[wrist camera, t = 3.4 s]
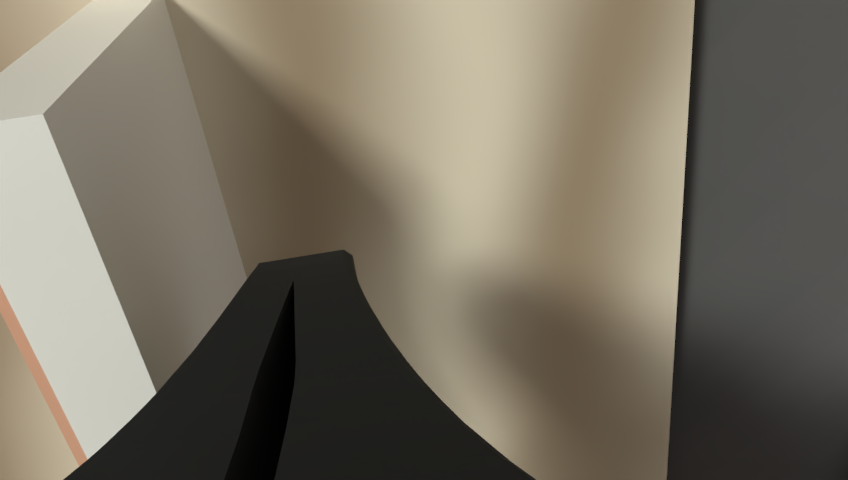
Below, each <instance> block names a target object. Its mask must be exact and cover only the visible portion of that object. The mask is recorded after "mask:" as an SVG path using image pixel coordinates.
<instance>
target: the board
mask: <svg viewBox="0 0 848 480" xmlns="http://www.w3.org/2000/svg"><path fill="white" fill-rule="evenodd" d="M91 1H96V0H0V72H2V71H3V70H4V69H6V68H7V67H8V66H9V65H11V64H12V63H13V62H14V61H16V60H17V59H18V58H20V57H21V56H22V55H23V54H25V53H26V52H27V51H29V50H30V49H31V48H32V47H34V46H35V45H36V44H38V43H39V42H40V41H41V40H43V39H44V38H45V37H46V36H48V35H49V34H50V33H52V32H53V31H54V30H55V29H57V28H58V27H59V26H61V25H62V24H63V23H64V22H66V21H67V20H68V19H69V18H71V17H72V16H73V15H75V14H76V13H77V12H78V11H80V10H81V9H82V8H84V7H85V6H86V5H87V4H89V3H90V2H91ZM165 3H166V6H167V10H168V13H169V16H170V20H171V23H172V27H173V30H174V33H175V37H176V40H177V44H178V47H179V50H180V54H181V57H182V60H183V64H184V67H185V71H186V74H187V77H188V81H189V84H190V88H191V91H192V94H193V98H194V101H195V105H196V108H197V111H198V115H199V118H200V121H201V125H202V128H203V132H204V135H205V138H206V142H207V145H208V149H209V152H210V155H211V159H212V162H213V165H214V169H215V172H216V176H217V179H218V182H219V186H220V189H221V193H222V196H223V199H224V203H225V206H226V210H227V213H228V216H229V220H230V223H231V226H232V230H233V233H234V237H235V240H236V243H237V247H238V250H239V254H240V257H241V260H242V264H243V267H244V271H245V274H246V277H247V278H248V277H249V276H250V274H251V273H252V272H253V271H254V269H255V268H256V267H257V265H258V264H259V263H263V262H269V261H275V260H281V259H288V258H294V257H300V256H306V255H313V254H319V253H325V252H331V251H338V250H345V251H347V252H348V253H350V254H351V255H353V259H354V264H355V269H356V274H357V279H358V282H359V284H360V287H361V289H362V291H363V293H364V295H365V297H366V299H367V301H368V303H369V305H370V307H371V308H372V310H373V312H374V313H375V315H376V317H377V318H378V320H379V321H380V323H381V325H382V326H383V328H384V330H385V331H386V333H387V334H388V336H389V337H390V338H391V340H392V341H393V343H394V344H395V345H396V347H397V348H398V349H399V351H400V352H401V353H402V355H403V356H404V358H405V359H406V360H407V361H408V363H409V364H410V365H411V366H412V368H413V369H414V370H415V371H416V373H417V374H418V375H419V376H420V377H421V378H422V380H423V381H424V382H425V383H426V384H427V385H428V386H429V387H430V388H431V389H432V391H433V392H434V393H435V394H436V395H437V396H438V397H439V398H440V399H441V400H442V401H443V402H444V403H445V404H446V405H447V406H448V407H449V408H450V409H451V410H452V411H453V412H454V413H455V414H456V415H457V416H458V417H459V418H460V419H461V420H462V421H463V422H464V423H465V424H467V425H468V426H469V427H470V428H471V429H473V430H474V431H475V432H476V433H477V434H479V435H480V436H481V437H482V438H483V439H485V440H486V441H487V442H488V443H489V444H491V445H492V446H493V447H494V448H495V449H497V450H498V451H499V452H500V453H501V454H503V455H504V456H505V457H506V458H507V459H509V460H510V461H511V462H512V463H514V464H515V465H517V466H518V467H519V468H521V469H522V470H523V471H525V472H526V473H528V474H529V475H530V476H532V477H533V478H535V479H536V480H667V465H668V448H669V431H670V414H671V397H672V380H673V363H674V346H675V329H676V312H677V295H678V279H679V262H680V245H681V228H682V211H683V194H684V177H685V160H686V143H687V126H688V109H689V92H690V75H691V58H692V41H693V24H694V7H695V0H165ZM78 467H79V465H78V463H77V461H76V459H75V457H74V455H73V453H72V451H71V449H70V448H69V446H68V444H67V442H66V440H65V438H64V436H63V434H62V432H61V430H60V428H59V426H58V424H57V422H56V420H55V418H54V416H53V414H52V412H51V410H50V408H49V406H48V405H47V403H46V401H45V399H44V397H43V395H42V393H41V391H40V389H39V387H38V385H37V383H36V381H35V379H34V377H33V375H32V373H31V371H30V369H29V367H28V365H27V363H26V362H25V360H24V358H23V356H22V354H21V352H20V350H19V348H18V346H17V344H16V342H15V340H14V338H13V336H12V334H11V332H10V330H9V328H8V326H7V324H6V322H5V320H4V319H3V317H2V315H1V313H0V480H63V479H65V478H66V477H67V476H68V475H70V474H71V473H72V472H73V471H74V470H76V469H77V468H78Z"/></svg>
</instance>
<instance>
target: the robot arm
mask: <svg viewBox="0 0 848 480" xmlns="http://www.w3.org/2000/svg"><path fill="white" fill-rule="evenodd" d="M63 480H536V479H535V478H533V477H532V476H530V475H529V474H528V473H526V472H525V471H523V470H522V469H521V468H519V467H518V466H517V465H515V464H514V463H512V462H511V461H510V460H509V459H507V458H506V457H505V456H504V455H503V454H501V453H500V452H499V451H498V450H497V449H495V448H494V447H493V446H492V445H491V444H489V443H488V442H487V441H486V440H485V439H483V438H482V437H481V436H480V435H479V434H477V433H476V432H475V431H474V430H473V429H471V428H470V427H469V426H468V425H467V424H465V423H464V422H463V421H462V420H461V419H460V418H459V417H458V416H457V415H456V414H455V413H454V412H453V411H452V410H451V409H450V408H449V407H448V406H447V405H446V404H445V403H444V402H443V401H442V400H441V399H440V398H439V397H438V396H437V395H436V394H435V393H434V392H433V391H432V389H431V388H430V387H429V386H428V385H427V384H426V383H425V382H424V381H423V380H422V378H421V377H420V376H419V375H418V374H417V373H416V371H415V370H414V369H413V368H412V366H411V365H410V364H409V363H408V361H407V360H406V359H405V358H404V356H403V355H402V353H401V352H400V351H399V349H398V348H397V347H396V345H395V344H394V343H393V341H392V340H391V338H390V337H389V336H388V334H387V333H386V331H385V330H384V328H383V326H382V325H381V323H380V321H379V320H378V318H377V317H376V315H375V313H374V312H373V310H372V308H371V307H370V305H369V303H368V301H367V299H366V297H365V295H364V293H363V291H362V289H361V287H360V284H359V282H358V279H357V274H356V269H355V264H354V259H353V255H351V254H350V253H348V252H347V251H345V250H338V251H331V252H325V253H319V254H313V255H306V256H300V257H294V258H288V259H281V260H275V261H269V262H263V263H259V264H258V265H257V267H256V268H255V269H254V271H253V272H252V273H251V274H250V276H249V277H248V278H247V280H246V281H245V282H244V284H243V285H242V287H241V288H240V289H239V291H238V292H237V293H236V295H235V296H234V298H233V299H232V300H231V302H230V303H229V304H228V306H227V307H226V309H225V310H224V311H223V313H222V314H221V315H220V317H219V318H218V319H217V321H216V322H215V323H214V325H213V326H212V327H211V328H210V330H209V331H208V332H207V334H206V335H205V336H204V338H203V339H202V340H201V341H200V343H199V344H198V345H197V347H196V348H195V349H194V350H193V352H192V353H191V354H190V355H189V356H188V357H187V359H186V360H185V361H184V362H183V363H182V364H181V365H180V367H179V368H178V369H177V370H176V371H175V372H174V374H173V375H172V376H171V377H170V378H169V379H168V381H167V382H166V383H165V384H164V385H163V386H162V387H161V389H160V390H159V391H158V392H157V393H156V394H155V395H154V396H153V397H152V398H151V400H150V401H149V402H148V403H147V404H146V405H145V406H144V407H143V408H142V409H141V410H140V411H139V412H138V413H137V414H136V415H135V416H134V417H133V418H132V419H131V420H130V421H129V422H128V423H127V424H126V425H125V426H124V427H123V428H121V429H120V430H119V431H118V432H117V433H116V434H115V435H114V436H113V437H112V438H111V439H110V440H109V441H108V442H107V443H106V444H105V445H104V446H102V447H101V448H100V449H99V450H98V451H97V452H96V453H95V454H94V455H92V456H91V457H90V458H89V459H88V460H87V461H85V462H84V463H83V464H82V465H81V466H79V467H78V468H77V469H76V470H74V471H73V472H72V473H71V474H70V475H68V476H67V477H66V478H65V479H63Z"/></svg>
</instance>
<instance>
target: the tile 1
mask: <svg viewBox="0 0 848 480" xmlns="http://www.w3.org/2000/svg"><path fill="white" fill-rule="evenodd" d="M246 280H247V277H246V274H245V271H244V267H243V264H242V260H241V257H240V254H239V250H238V247H237V243H236V240H235V237H234V233H233V230H232V226H231V223H230V220H229V216H228V213H227V210H226V206H225V203H224V199H223V196H222V193H221V189H220V186H219V182H218V179H217V176H216V172H215V169H214V165H213V162H212V159H211V155H210V152H209V149H208V145H207V142H206V138H205V135H204V132H203V128H202V125H201V121H200V118H199V115H198V111H197V108H196V105H195V101H194V98H193V94H192V91H191V88H190V84H189V81H188V77H187V74H186V71H185V67H184V64H183V60H182V57H181V54H180V50H179V47H178V44H177V40H176V37H175V33H174V30H173V27H172V23H171V20H170V16H169V13H168V10H167V6H166V3H165V0H96V1H91V2H90V3H89V4H87V5H86V6H85V7H84V8H82V9H81V10H80V11H78V12H77V13H76V14H75V15H73V16H72V17H71V18H69V19H68V20H67V21H66V22H64V23H63V24H62V25H61V26H59V27H58V28H57V29H55V30H54V31H53V32H52V33H50V34H49V35H48V36H46V37H45V38H44V39H43V40H41V41H40V42H39V43H38V44H36V45H35V46H34V47H32V48H31V49H30V50H29V51H27V52H26V53H25V54H23V55H22V56H21V57H20V58H18V59H17V60H16V61H14V62H13V63H12V64H11V65H9V66H8V67H7V68H6V69H4V70H3V71H2V72H0V313H1V315H2V317H3V319H4V320H5V322H6V324H7V326H8V328H9V330H10V332H11V334H12V336H13V338H14V340H15V342H16V344H17V346H18V348H19V350H20V352H21V354H22V356H23V358H24V360H25V362H26V363H27V365H28V367H29V369H30V371H31V373H32V375H33V377H34V379H35V381H36V383H37V385H38V387H39V389H40V391H41V393H42V395H43V397H44V399H45V401H46V403H47V405H48V406H49V408H50V410H51V412H52V414H53V416H54V418H55V420H56V422H57V424H58V426H59V428H60V430H61V432H62V434H63V436H64V438H65V440H66V442H67V444H68V446H69V448H70V449H71V451H72V453H73V455H74V457H75V459H76V461H77V463H78V465H79V466H81V465H82V464H83V463H84V462H85V461H87V460H88V459H89V458H90V457H91V456H92V455H94V454H95V453H96V452H97V451H98V450H99V449H100V448H101V447H102V446H104V445H105V444H106V443H107V442H108V441H109V440H110V439H111V438H112V437H113V436H114V435H115V434H116V433H117V432H118V431H119V430H120V429H121V428H123V427H124V426H125V425H126V424H127V423H128V422H129V421H130V420H131V419H132V418H133V417H134V416H135V415H136V414H137V413H138V412H139V411H140V410H141V409H142V408H143V407H144V406H145V405H146V404H147V403H148V402H149V401H150V400H151V398H152V397H153V396H154V395H155V394H156V393H157V392H158V391H159V390H160V389H161V387H162V386H163V385H164V384H165V383H166V382H167V381H168V379H169V378H170V377H171V376H172V375H173V374H174V372H175V371H176V370H177V369H178V368H179V367H180V365H181V364H182V363H183V362H184V361H185V360H186V359H187V357H188V356H189V355H190V354H191V353H192V352H193V350H194V349H195V348H196V347H197V345H198V344H199V343H200V341H201V340H202V339H203V338H204V336H205V335H206V334H207V332H208V331H209V330H210V328H211V327H212V326H213V325H214V323H215V322H216V321H217V319H218V318H219V317H220V315H221V314H222V313H223V311H224V310H225V309H226V307H227V306H228V304H229V303H230V302H231V300H232V299H233V298H234V296H235V295H236V293H237V292H238V291H239V289H240V288H241V287H242V285H243V284H244V282H245V281H246Z"/></svg>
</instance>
